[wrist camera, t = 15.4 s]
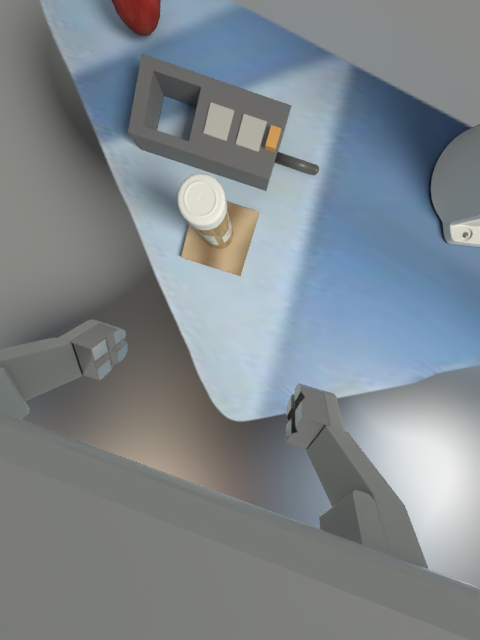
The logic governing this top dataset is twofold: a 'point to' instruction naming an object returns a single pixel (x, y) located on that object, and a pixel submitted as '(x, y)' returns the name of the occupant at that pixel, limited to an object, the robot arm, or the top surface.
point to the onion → (139, 14)
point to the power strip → (212, 124)
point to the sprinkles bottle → (206, 209)
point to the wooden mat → (233, 254)
